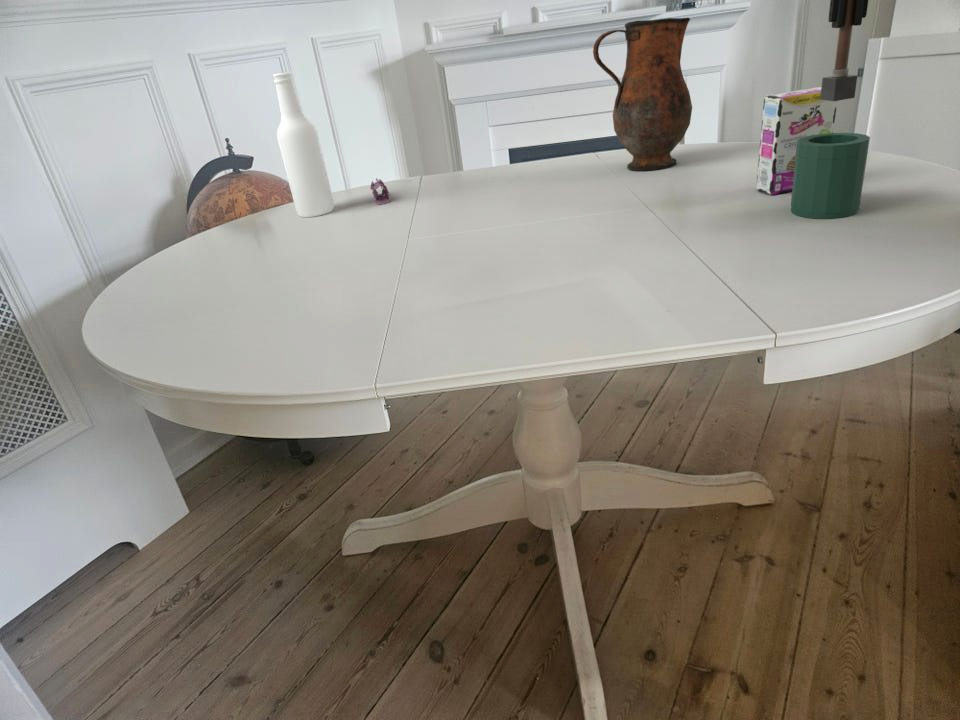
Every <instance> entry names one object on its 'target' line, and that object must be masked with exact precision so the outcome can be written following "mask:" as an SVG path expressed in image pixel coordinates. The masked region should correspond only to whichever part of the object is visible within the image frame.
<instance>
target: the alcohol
mask: <svg viewBox="0 0 960 720" xmlns="http://www.w3.org/2000/svg"><path fill="white" fill-rule="evenodd" d="M292 75H293V73H292V72H291V71H285V72H278V73H273V75H272V78H273V83H274V84H275V90H276V96H277V101H278V106H279V112H280V123H279V125H278V127H277V130H276V140H277V143H278V147H279V151H280V156H281V158H282V162H283V166H284V169H285V173H286V178H287V181H288V184H289V190H290V192H291V196H292V200H293V204H294V207H295V211H296V214H297V215H298V216H299V217H301V218H312V217H313V218H314V217H319V216H324V215H327V214H329V213H332V212H333V211H334V209H335V202H334V201H335V200H334V198H333V194H332V193H333V192H332V188H331V184H330V180H329V176H328V172H327V167H326V164H325V161H324V160H325V159H324V155H323V150H322V146H321V142H320V138H319V134H318V130H317V128H316V127H315V124H313V122H312V121H310V120H309V119H308V118H307V117H306V116H305V114H304V112H303V109H302V106H301V102H300V100H299V95H298V93H297V90H296V86H295V83H294V78H293V76H292Z"/></svg>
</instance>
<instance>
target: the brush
mask: <svg viewBox="0 0 960 720" xmlns="http://www.w3.org/2000/svg"><path fill="white" fill-rule="evenodd" d="M855 3H856V0H846V7H845V15H844V23H843V26H842V27H841V28H838V36H837V43H836V44H837V45H836V51H835V52H836V53H835V61H834V68H833V69H832V72H831V76H825V77H822V81H821V87H822V88H821V97H820V100H828V101H837V102H839V101H844V100H850V99H855V97H856V90H857V82H858V75H857V74H856V75H855V74H849V70H850V68H849V67H848V65H849V58H850V50H851V43H852V34H853V27H854V25H853V19H854V11H855Z"/></svg>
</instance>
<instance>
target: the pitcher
mask: <svg viewBox="0 0 960 720" xmlns="http://www.w3.org/2000/svg"><path fill="white" fill-rule="evenodd" d="M690 21H691V18H689V17H667V18H658V19H651V20H650V19H648V20H634V21H628V22H626V23H625V24H624V27H625V29H613V30H609V31H605V32H603V33H601V34H600V35H599V37H598V38H596V40H595V42H594V44H593V48H592V49H593V50H592V53H593V59H594V61H595V62H596V65H598V66H599V67H600V68H601V69H602V70H603V71H604V72H605V73H606V74H607V75H609V77H611V78H612V79H613V81H614V82H615V83H616V85H617V94H616V97H615V100H614V105H613V110H612V122H613V131H614V133H615V135H616V137H617V138H618V140H619V143H620V145H622V146H623V148H624V149H625V150H626V151H627V152H628V153H629V154H630V155H631V156H632V160H631V162H629V163H628V164H627V165H626V168H627V169H628V170H630V171H633V172H648V171H650V172H651V171H658V170H664V169H668V168H672V167H674V166H676V165H677V162H678V161H677V159H676V158H674V157H672V155H671V153H672V151H673V150H674V149H675V148H676V147H677V146H678V145H679V143H680V142H681V141H682V140H683V139H684V136H685V134H686V133H687V131H688V129H689V127H690V126H691V125H690V124H691V120H692V112H693V103H692V100H691V98H692V97H691V94H690V90H689V88H688V85H687V83H686V80H685V78H684V75H683V71H682V66H681V65H682V64H681V58H682V51H683V50H682V49H683V44H684V38H685V34H686V30H687V27H688V26H689V22H690ZM615 33H624V36H625V41H626V58H625V67H624V71H623V75H622V78H621V80H620V78H619V77H618V76H617V75H616V74H615V73H614V72H613V71H612V70H611V69H610V68H609V67H608V66H607V65H605V63H604V62H603V61H602V60H601V57H600V53H599V49H600V48H599V47H600V45H601V42H602V41H603V40H604V39H605V38H606V37H608V36H610V35H612V34H615Z"/></svg>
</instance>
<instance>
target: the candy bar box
mask: <svg viewBox="0 0 960 720" xmlns="http://www.w3.org/2000/svg"><path fill="white" fill-rule="evenodd" d="M821 88H822V86H818V87H811V88H803V89H797V90H791V91H786V92H779V93H771V94H766V95H764V97H763V108H762V119H761V130H760V142H759V153H758V162H757V163H758V164H757V175H756V184H755V185H756V187H755V190H756V191H758V192H760V193H764V194H766V195H769V196H773V195H778V194H784V193H788V192H789V193H790V192H792V188H793V178H794V168H795V158H796V148H797V141H798V140H799V139H800V138H804V137H807V136H812V135H818V134H828V133H834V129H835V128H834V127H835V121H836V113H837V106H838V101H828V100H820V97H821Z"/></svg>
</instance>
